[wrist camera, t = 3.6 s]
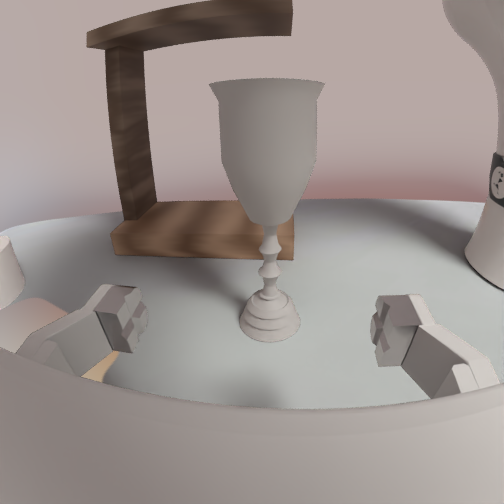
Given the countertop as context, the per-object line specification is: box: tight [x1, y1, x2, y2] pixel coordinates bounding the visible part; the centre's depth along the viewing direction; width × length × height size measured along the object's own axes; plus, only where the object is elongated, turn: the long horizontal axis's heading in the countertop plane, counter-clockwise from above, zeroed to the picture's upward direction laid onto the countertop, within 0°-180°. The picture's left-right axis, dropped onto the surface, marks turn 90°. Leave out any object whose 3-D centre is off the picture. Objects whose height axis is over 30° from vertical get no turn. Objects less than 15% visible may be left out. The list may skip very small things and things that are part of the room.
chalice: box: [209, 78, 325, 342], centre depth 20 cm, size 7×7×18 cm
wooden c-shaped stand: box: [87, 0, 294, 260], centre depth 32 cm, size 22×11×28 cm, turn 84°
